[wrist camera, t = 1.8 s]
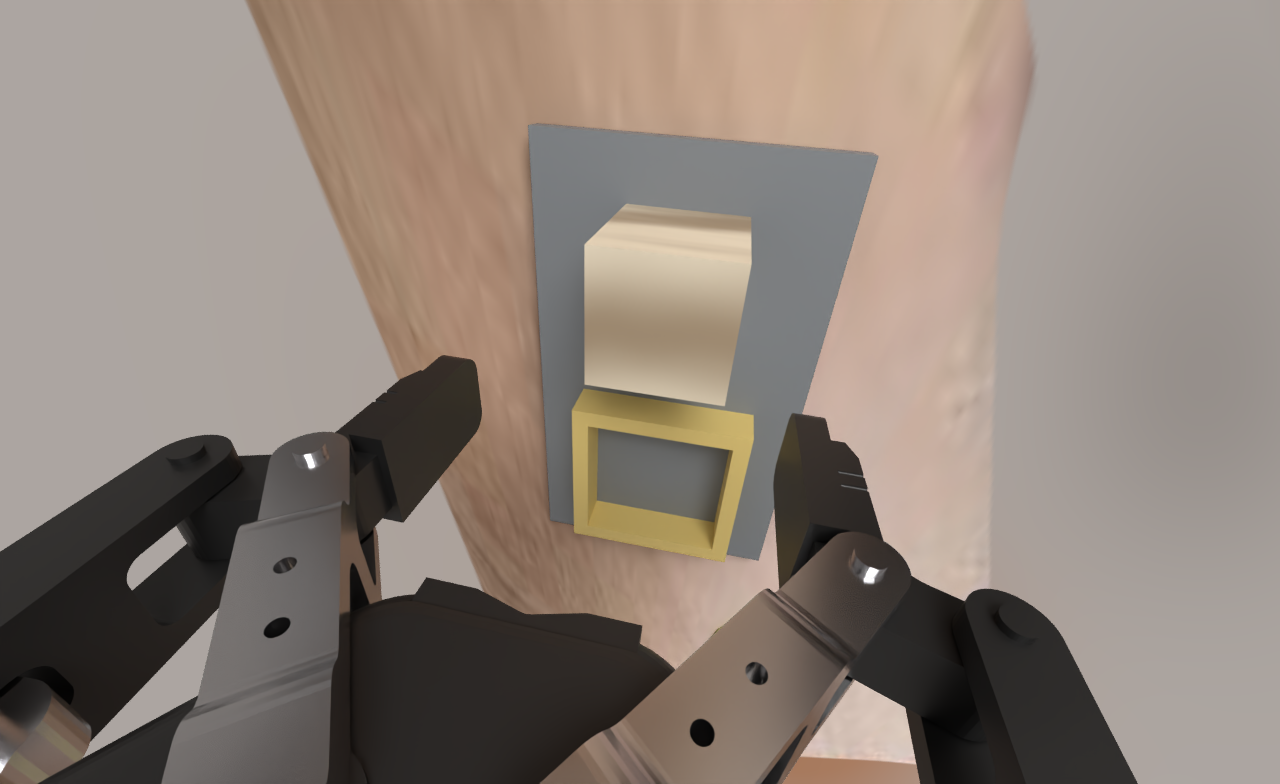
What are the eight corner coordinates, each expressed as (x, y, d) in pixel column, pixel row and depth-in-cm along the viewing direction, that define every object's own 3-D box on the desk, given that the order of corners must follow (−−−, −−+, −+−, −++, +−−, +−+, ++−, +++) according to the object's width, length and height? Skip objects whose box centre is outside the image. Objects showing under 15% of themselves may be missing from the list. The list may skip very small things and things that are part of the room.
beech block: (626, 203, 20) (584, 244, 15) (751, 217, 19) (751, 264, 14) (621, 317, 22) (584, 384, 17) (730, 332, 22) (724, 406, 17)
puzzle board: (537, 123, 20) (506, 129, 17) (872, 152, 18) (892, 164, 16) (555, 508, 32) (539, 545, 29) (758, 547, 30) (758, 589, 28)
